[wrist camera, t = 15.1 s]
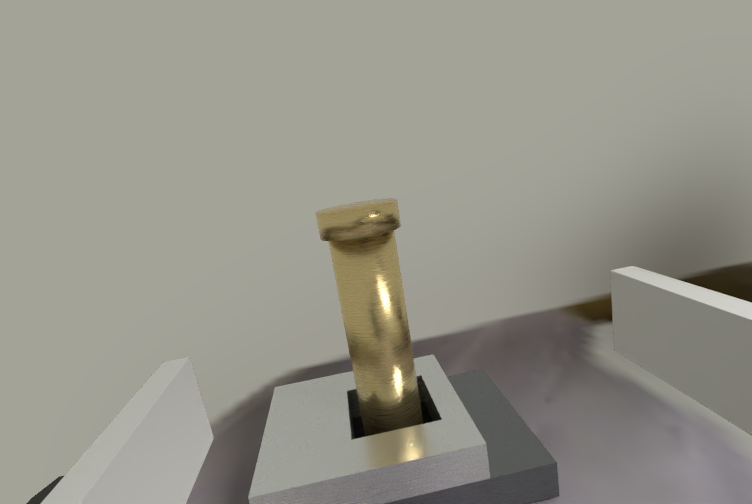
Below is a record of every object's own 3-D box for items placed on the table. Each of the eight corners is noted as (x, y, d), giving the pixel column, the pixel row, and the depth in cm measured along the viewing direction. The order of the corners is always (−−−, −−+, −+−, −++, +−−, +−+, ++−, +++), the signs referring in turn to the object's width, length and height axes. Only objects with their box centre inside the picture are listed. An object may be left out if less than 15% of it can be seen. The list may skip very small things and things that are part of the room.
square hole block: (485, 393, 31) (479, 344, 30) (559, 496, 21) (553, 427, 20) (286, 436, 29) (274, 387, 28) (266, 567, 20) (248, 497, 19)
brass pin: (425, 432, 27) (389, 196, 24) (444, 480, 23) (404, 201, 20) (361, 446, 27) (316, 209, 24) (368, 498, 23) (314, 217, 19)
